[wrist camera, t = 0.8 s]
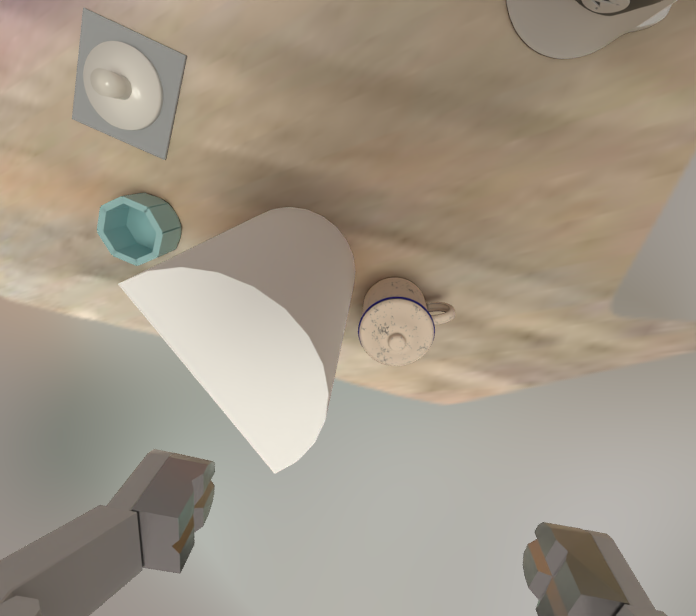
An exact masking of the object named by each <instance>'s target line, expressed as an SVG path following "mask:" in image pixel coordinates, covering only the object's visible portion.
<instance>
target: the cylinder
mask: <svg viewBox="0 0 696 616" xmlns="http://www.w3.org/2000/svg"><path fill="white" fill-rule="evenodd" d="M355 273H356V271H355V263H354V256H353V253H352V251H351V249H350V246H349V244H348V242H347V240H346V239H345V237H344V236H343V235H342V233H341V232H340V231H339V229H338V228H337V227H336V226H335V225H334V224H332V223H331V222H330V221H328V220H327V219H326V218H324V217H323V216H321V215H319V214H317V213H314V212H312V211H310V210H307V209H302V208H295V207H284V208H277V209H272V210H269V211H267V212H265V213H263V214H260V215H258V216H256V217H254V218H252V219H250V220H248V221H246V222H244V223H242V224H240V225H238V226H236V227H234V228H231V229H229V230H227V231H225V232H223V233H221V234H219V235H217V236H215V237H213V238H211V239H209V240H207V241H205V242H203V243H201V244H199V245H197V246H195V247H193V248H190V249H188V250H186V251H184V252H182V253H180V254H178V255H176V256H174V257H172V258H170V259H168V260H166V261H164V262H162V263H160V264H158V265H156V266H154V267H152V268H149V269H147V270H145V271H143V272H141V273H139V274H137V275H135V276H133V277H131V278H129V279H127V280H125V281H123V282H121V283H119V284H118V285H119V286H120V287H121V288H122V289H123V291H124V292H125V293H126V294H127V295H128V297H129V298H130V299H131V300H132V302H133V303H134V304H135V305H136V306H137V308H138V309H139V310H140V311H141V312H142V314H143V315H144V316H145V317H146V319H147V320H148V321H149V322H150V323H151V325H152V326H153V327H154V328H155V329H156V331H157V332H158V333H159V334H160V335H161V337H162V338H163V339H164V340H165V342H166V343H167V344H168V345H169V346H170V348H171V349H172V350H173V351H174V352H175V354H176V355H177V356H178V357H179V358H180V360H181V361H182V362H183V363H184V365H185V366H186V367H187V368H188V369H189V371H190V372H191V373H192V374H193V375H194V377H195V378H196V379H197V380H198V381H199V383H200V384H201V385H202V386H203V387H204V389H205V390H206V391H207V392H208V393H209V395H210V396H211V397H212V398H213V400H214V401H215V402H216V403H217V405H218V406H219V407H220V408H221V409H222V410H223V412H224V413H225V414H226V415H227V417H228V418H229V419H230V420H231V421H232V422H233V424H234V425H235V426H236V428H237V429H238V430H239V431H240V432H241V434H242V435H243V436H244V437H245V438H246V439H247V441H248V442H249V443H250V445H251V446H252V447H253V448H254V449H255V451H256V452H257V453H258V454H259V455H260V457H261V458H262V459H263V460H264V461H265V463H266V464H267V465H268V466H269V467H270V469H271V470H272V471H273V472H274V473H277V472H279V471H281V470H283V469H284V468H286V467H288V466H290V465H291V464H293V463H295V462H297V461H298V460H299V459H300V458H301V457H302V456H303V455H304V454H305V453H306V452H307V450H308V449H309V448H310V447H311V446H312V445H313V444H314V443H315V441H316V439H317V437H318V435H319V433H320V431H321V429H322V427H323V424H324V422H325V420H326V415H327V410H328V405H329V401H330V396H331V391H332V387H333V382H334V377H335V373H336V368H337V363H338V359H339V354H340V349H341V344H342V340H343V335H344V330H345V325H346V321H347V316H348V311H349V307H350V302H351V297H352V292H353V288H354V281H355Z"/></svg>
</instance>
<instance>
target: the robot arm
mask: <svg viewBox="0 0 696 616" xmlns="http://www.w3.org/2000/svg"><path fill="white" fill-rule="evenodd" d="M506 1H507V7H508V12H509V15H510V18H511V21H512V24H513V26H514V28H515V30H516V31H517V33H518V34H519V36H520V37H521V38H522V40H523V41H524V42H525V43H526V44H527V45H528V46H529V47H531V48H532V49H533V50H535V51H537V52H538V53H540V54H543V55H545V56H548V57H552V58H558V59H571V58H577V57H582V56H585V55H588V54H591V53H593V52H595V51H597V50H599V49H601V48H603V47H605V46H606V45H608V44H609V43H611V42H612V41H614V40H615V39H617V38H618V37H620V36H622V35H624V34H626V33H628V32H633V31H637V30H642V29H645V28H648V27H651V26H653V25H655V24H656V23H658V22H659V21H661V20H662V19H663V18H664V17H665V16H666V15H667V14H668V12H669V10H670V8H671V6H672V4H673V3H675V2H676V1H677V0H506ZM214 472H215V463H214V462H213V461H209V460H205V459H200V458H195V457H190V456H186V455H182V454H177V453H171V452H166V451H161V450H157V449H153V450H152V451H151V452H149V453H148V454H147V455H146V456H145V457H144V459H143V460H142V461H141V462H140V464H139V465H138V466H137V468H136V469H135V470H134V472H133V473H132V474H131V475H130V476H129V478H128V479H127V480H126V482H125V483H124V484H123V485H122V487H121V488H120V489H119V490H118V492H117V493H116V494H115V496H114V497H113V498H112V500H111V501H110V502H109V503H108V505H107V506H103V505H99V506H97V507H95V508H94V509H92V510H90V511H88V512H86V513H85V514H83V515H81V516H79V517H77V518H76V519H74V520H72V521H70V522H68V523H67V524H65V525H63V526H61V527H59V528H58V529H56V530H54V531H52V532H50V533H48V534H47V535H45V536H43V537H41V538H39V539H38V540H36V541H34V542H32V543H30V544H29V545H27V546H25V547H24V548H21V549H20V550H18V551H16V552H14V553H12V554H11V555H9V556H7V557H6V558H3V559H2V560H0V616H89V615H90V614H92V613H93V612H94V611H95V610H96V609H98V608H99V607H100V606H101V605H102V604H103V603H105V601H107V600H108V599H109V598H110V597H112V596H113V595H114V594H115V593H116V592H118V591H119V590H120V589H121V588H122V587H123V586H125V585H126V584H127V583H128V582H129V581H130V580H132V578H134V577H135V576H136V575H138V574H139V573H140V572H141V571H142V568H148V569H155V570H161V571H167V572H173V573H181V571H182V569H183V567H184V565H185V563H186V561H187V559H188V557H189V554H190V552H191V550H192V548H193V546H194V532H196V531H197V530H199V529H200V528H201V527H203V525H204V523H205V521H206V519H207V517H208V514H209V511H210V508H211V505H212V502H213V497H214V484H213V482H212V481H211V478H212V477H213V475H214ZM535 535H536V537H537V539H536V540H535V541H533V542H531V543H529V544H528V545H527V547H526V550H525V551H524V556H523V569H524V575H525V579H526V582H527V585H528V588H529V589H530V590H531V591H532V593H533V594H534V595H535V596H536V597H537V598H538V600H539V601H538V604H537V607H536V612H537V614H538V616H667V615H666V614H665V613H664V612H662V611H658V610H656V609H655V608H654V606H653V605H652V603H651V601H650V600H649V598H648V596H647V595H646V593H645V591H644V590H643V588H642V587H641V585H640V583H639V582H638V580H637V578H636V577H635V575H634V573H633V572H632V570H631V568H630V567H629V565H628V564H627V562H626V560H625V558H624V557H623V555H622V554H621V552H620V550H619V549H618V547H617V546H616V544H615V542H614V540H613V539H612V538H611V537H610V536H609V535H607V534H605V533H600V532H594V531H589V530H583V529H580V528H574V527H568V526H562V525H557V524H551V523H544V522H543V523H541V524H539V525H538V527H537V528H536V530H535Z"/></svg>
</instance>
